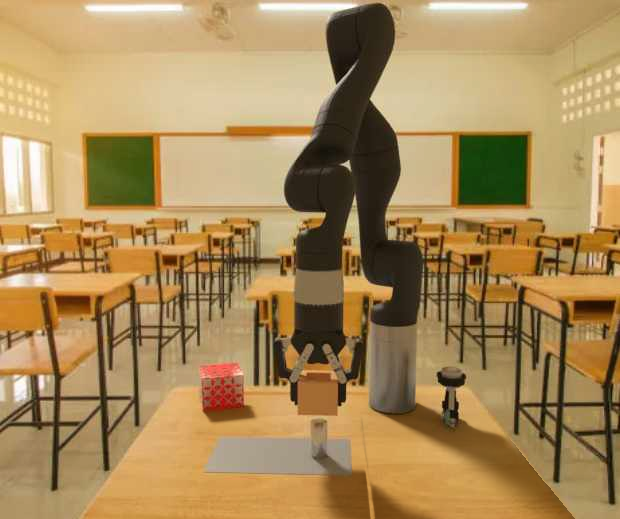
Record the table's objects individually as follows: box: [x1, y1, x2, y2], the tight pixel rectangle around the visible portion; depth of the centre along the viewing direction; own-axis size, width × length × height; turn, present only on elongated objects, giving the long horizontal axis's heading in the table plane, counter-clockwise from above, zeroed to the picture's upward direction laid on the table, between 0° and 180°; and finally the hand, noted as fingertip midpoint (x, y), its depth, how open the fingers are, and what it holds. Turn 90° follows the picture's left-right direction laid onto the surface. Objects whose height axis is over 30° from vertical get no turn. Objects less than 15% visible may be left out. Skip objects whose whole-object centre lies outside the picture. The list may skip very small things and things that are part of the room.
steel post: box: [310, 418, 328, 459], centre depth 88 cm, size 3×3×7 cm
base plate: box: [203, 436, 353, 477], centre depth 88 cm, size 12×22×2 cm, turn 88°
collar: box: [297, 369, 339, 417], centre depth 87 cm, size 6×6×5 cm
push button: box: [436, 366, 467, 428], centre depth 103 cm, size 7×5×10 cm
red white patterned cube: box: [198, 362, 245, 411], centre depth 110 cm, size 8×8×8 cm
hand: (318, 403), depth 87 cm, fingers closed on collar, 6 cm apart
